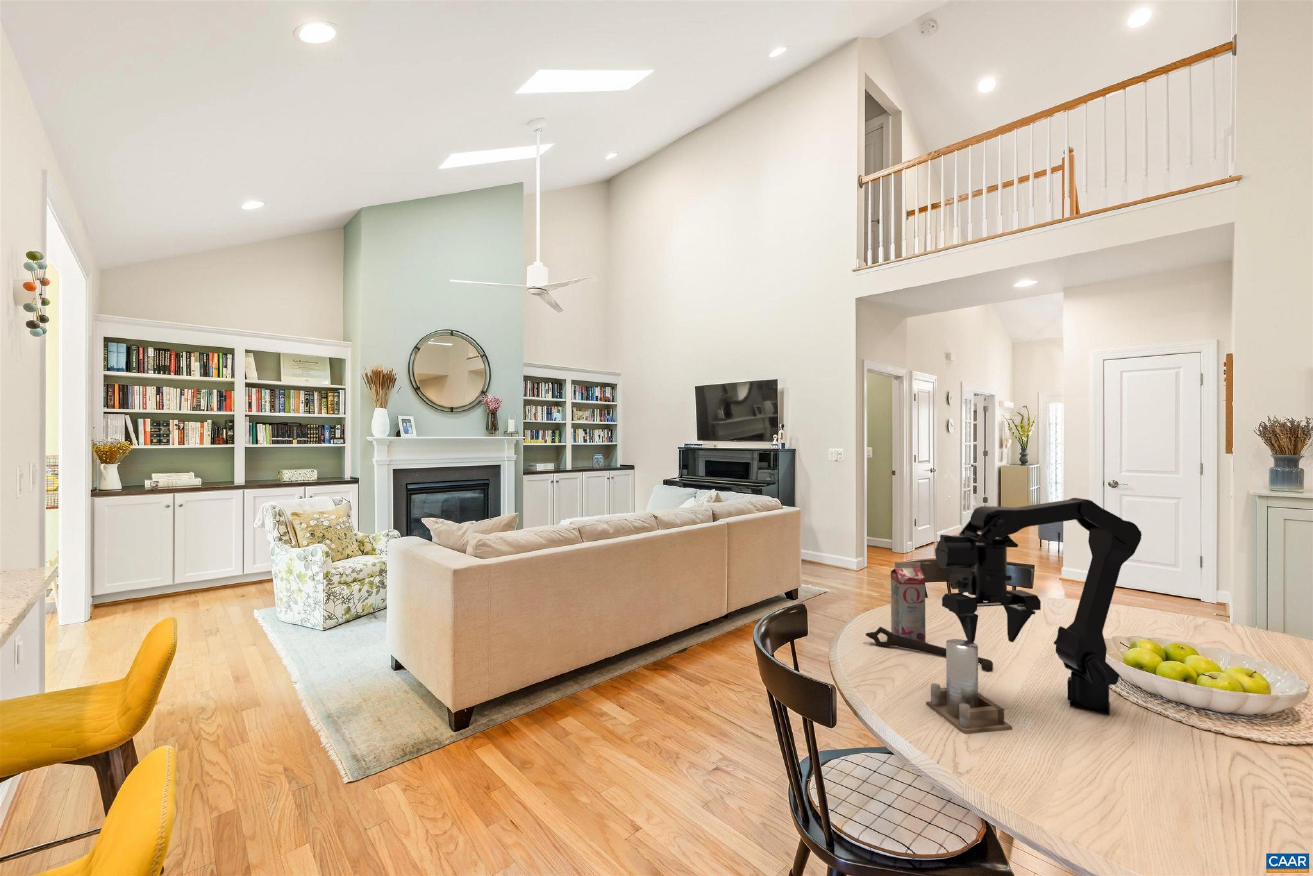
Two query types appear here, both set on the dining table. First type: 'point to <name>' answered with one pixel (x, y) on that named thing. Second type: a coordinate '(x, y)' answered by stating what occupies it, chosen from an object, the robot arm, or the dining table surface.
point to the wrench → (917, 646)
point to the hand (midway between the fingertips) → (991, 642)
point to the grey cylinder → (961, 675)
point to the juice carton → (908, 601)
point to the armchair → (969, 713)
